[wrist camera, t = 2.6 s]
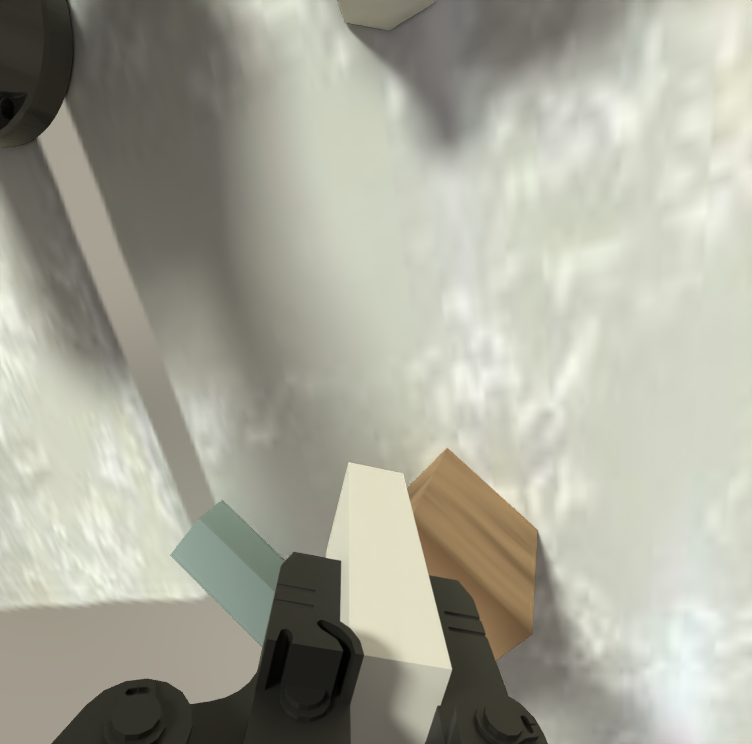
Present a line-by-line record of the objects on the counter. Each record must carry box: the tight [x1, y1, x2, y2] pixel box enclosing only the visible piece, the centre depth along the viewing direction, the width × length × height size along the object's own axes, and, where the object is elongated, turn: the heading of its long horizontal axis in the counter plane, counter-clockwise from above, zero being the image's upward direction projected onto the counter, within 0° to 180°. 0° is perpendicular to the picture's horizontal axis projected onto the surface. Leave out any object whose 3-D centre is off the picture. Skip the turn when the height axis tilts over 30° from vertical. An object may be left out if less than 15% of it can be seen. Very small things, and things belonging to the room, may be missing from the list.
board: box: [170, 501, 285, 647], centre depth 41 cm, size 5×18×3 cm, turn 51°
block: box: [407, 448, 537, 661], centre depth 31 cm, size 9×8×10 cm
